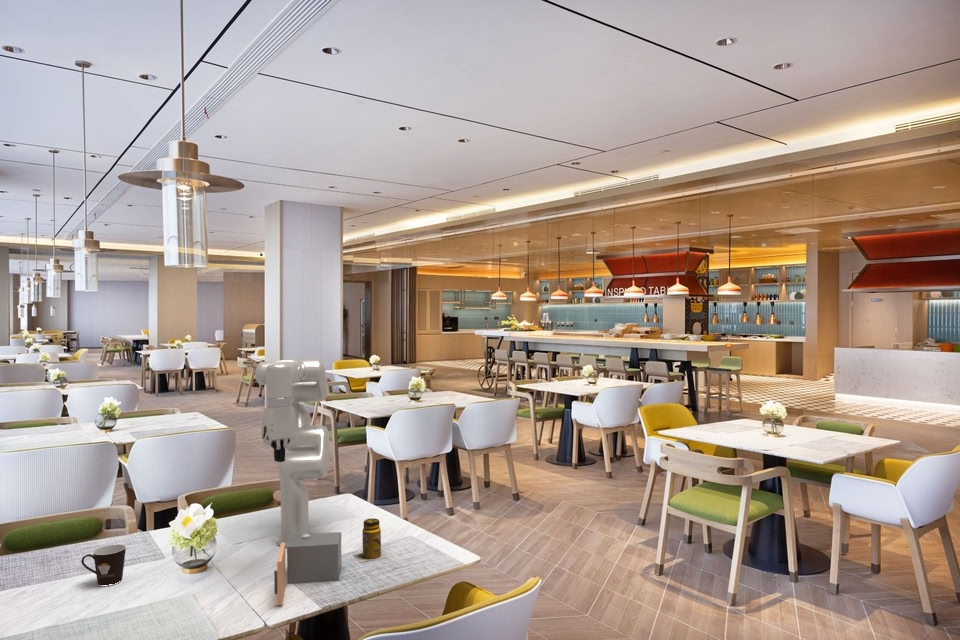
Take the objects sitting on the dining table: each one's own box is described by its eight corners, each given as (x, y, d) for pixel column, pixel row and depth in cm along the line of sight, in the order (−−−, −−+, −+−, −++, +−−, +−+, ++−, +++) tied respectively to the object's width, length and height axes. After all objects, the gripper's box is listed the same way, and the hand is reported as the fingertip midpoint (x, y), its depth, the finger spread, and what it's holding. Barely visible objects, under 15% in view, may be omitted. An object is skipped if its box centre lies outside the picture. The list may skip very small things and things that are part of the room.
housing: (293, 569, 197) (293, 532, 197) (341, 566, 199) (341, 529, 199) (287, 583, 186) (287, 544, 186) (338, 580, 188) (337, 541, 188)
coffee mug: (132, 578, 191) (132, 546, 191) (107, 589, 183) (107, 556, 183) (104, 573, 195) (104, 542, 195) (79, 584, 187) (78, 551, 187)
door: (285, 582, 186) (285, 542, 186) (282, 604, 171) (281, 561, 171) (278, 583, 185) (278, 543, 185) (274, 605, 170) (274, 562, 170)
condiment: (385, 557, 206) (385, 521, 206) (361, 562, 201) (361, 526, 202) (376, 550, 212) (376, 515, 212) (353, 556, 208) (352, 520, 208)
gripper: (291, 399, 203) (292, 455, 203) (250, 404, 191) (251, 464, 191) (306, 401, 198) (306, 458, 198) (265, 406, 186) (265, 467, 186)
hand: (279, 461), depth 194 cm, fingers closed
